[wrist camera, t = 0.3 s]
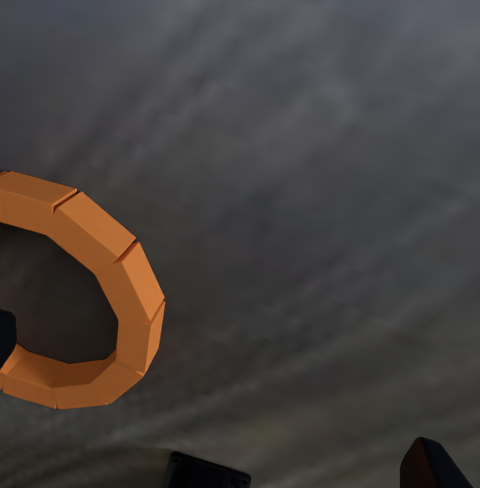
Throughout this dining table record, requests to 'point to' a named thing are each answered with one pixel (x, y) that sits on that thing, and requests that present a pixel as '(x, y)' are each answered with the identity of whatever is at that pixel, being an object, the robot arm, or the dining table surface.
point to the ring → (111, 280)
